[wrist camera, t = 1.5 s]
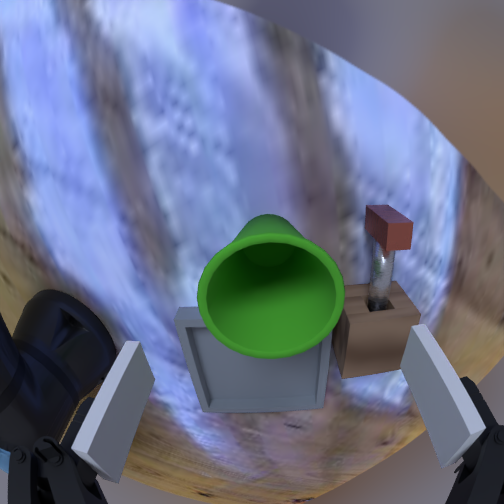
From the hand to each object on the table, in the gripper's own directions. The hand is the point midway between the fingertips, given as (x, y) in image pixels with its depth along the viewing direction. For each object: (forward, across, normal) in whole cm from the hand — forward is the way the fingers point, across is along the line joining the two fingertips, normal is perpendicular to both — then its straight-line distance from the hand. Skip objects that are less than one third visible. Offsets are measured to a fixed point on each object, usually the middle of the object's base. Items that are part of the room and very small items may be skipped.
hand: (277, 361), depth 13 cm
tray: (+16, -2, -15) cm, 22 cm away
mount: (+16, +10, -9) cm, 21 cm away
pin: (+15, +10, -2) cm, 18 cm away
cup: (+16, 0, 0) cm, 16 cm away
